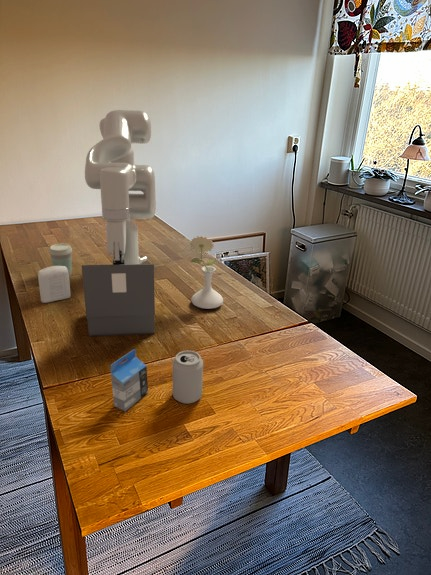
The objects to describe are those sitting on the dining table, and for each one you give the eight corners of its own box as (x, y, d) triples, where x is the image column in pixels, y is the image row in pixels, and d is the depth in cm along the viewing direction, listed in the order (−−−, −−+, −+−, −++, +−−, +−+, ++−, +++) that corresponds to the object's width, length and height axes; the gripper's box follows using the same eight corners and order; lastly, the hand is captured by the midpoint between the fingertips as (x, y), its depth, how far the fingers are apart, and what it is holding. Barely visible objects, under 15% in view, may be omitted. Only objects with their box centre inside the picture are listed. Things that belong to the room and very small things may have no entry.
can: (172, 387, 119) (172, 348, 113) (201, 386, 119) (202, 348, 114) (172, 406, 112) (172, 366, 107) (202, 405, 112) (204, 365, 107)
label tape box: (125, 412, 109) (122, 370, 104) (112, 406, 111) (109, 364, 106) (148, 393, 116) (147, 352, 111) (136, 387, 118) (134, 347, 113)
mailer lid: (81, 265, 129) (81, 265, 129) (153, 263, 132) (153, 264, 132) (86, 316, 136) (86, 317, 135) (154, 314, 139) (154, 315, 138)
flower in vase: (228, 301, 164) (231, 235, 153) (214, 314, 155) (217, 245, 144) (196, 293, 169) (197, 229, 158) (181, 306, 159) (181, 238, 149)
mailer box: (94, 311, 153) (92, 293, 150) (153, 309, 156) (153, 291, 153) (88, 336, 139) (87, 316, 136) (154, 333, 142) (154, 314, 139)
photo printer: (68, 293, 165) (65, 262, 159) (72, 298, 162) (69, 266, 156) (39, 299, 160) (35, 267, 154) (43, 304, 156) (38, 271, 151)
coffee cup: (79, 273, 181) (76, 244, 176) (66, 281, 174) (62, 252, 169) (61, 269, 184) (57, 241, 178) (47, 277, 176) (43, 248, 171)
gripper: (104, 206, 133) (108, 264, 141) (99, 220, 120) (104, 284, 127) (130, 206, 134) (132, 263, 142) (128, 220, 121) (131, 283, 128)
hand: (119, 273), depth 134 cm, fingers closed
